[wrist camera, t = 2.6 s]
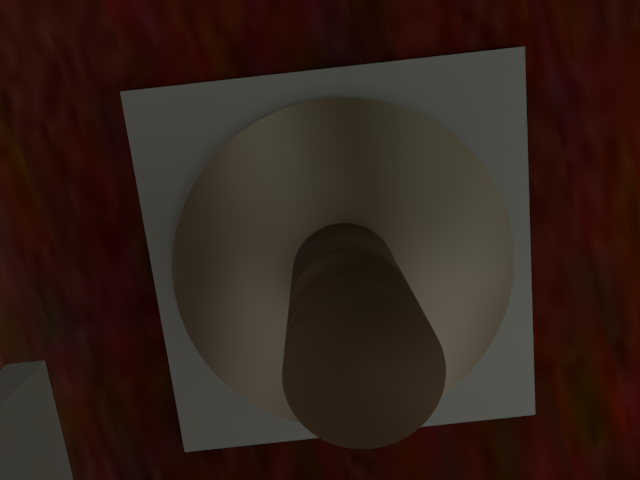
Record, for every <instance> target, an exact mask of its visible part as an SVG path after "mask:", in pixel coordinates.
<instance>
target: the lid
mask: <svg viewBox="0 0 640 480" xmlns="http://www.w3.org/2000/svg"><path fill="white" fill-rule="evenodd" d="M172 275H173V285H174V293H175V297H176V301H177V305H178V309H179V313H180V316H181V318H182V321H183V323H184V326H185V329H186V331H187V333H188V335H189V337H190V339H191V341H192V342H193V344H194V346H195V348H196V350H197V351H198V353H199V354H200V355H201V357H202V358H203V359H204V361H205V362H206V363H207V365H208V366H209V368H210V369H211V370H212V371H213V372H214V373H215V374H216V375H217V376H218V377H219V378H220V379H221V380H222V381H223V382H224V383H225V384H226V385H227V386H229V387H230V388H231V389H232V390H234V391H235V392H236V393H237V394H238V395H240V396H241V397H243V398H244V399H246V400H248V401H249V402H251V403H252V404H254V405H256V406H257V407H259V408H261V409H263V410H266V411H268V412H270V413H272V414H274V415H276V416H279V417H282V418H285V419H288V420H292V421H295V422H298V423H301V424H302V425H303V426H304V427H305V428H306V429H308V430H309V431H310V432H311V433H312V434H314V435H316V436H317V437H319V438H320V439H322V440H324V441H327V442H329V443H331V444H334V445H337V446H340V447H346V448H351V449H373V448H379V447H383V446H387V445H390V444H393V443H396V442H398V441H400V440H402V439H404V438H406V437H408V436H409V435H411V434H412V433H414V432H415V431H416V430H418V429H419V428H420V427H421V426H422V425H423V424H424V423H425V422H426V421H427V420H428V419H429V417H430V416H431V415H432V414H433V412H434V410H435V409H436V407H437V406H438V403H439V401H440V399H441V397H442V396H443V395H444V394H445V393H447V392H448V391H449V390H451V389H452V388H453V387H455V386H456V385H457V384H458V383H459V382H460V381H461V380H462V379H463V378H464V377H465V376H466V375H467V374H468V373H469V372H470V371H471V370H472V369H473V368H474V367H475V365H476V364H477V363H478V362H479V360H480V359H481V358H482V357H483V355H484V354H485V352H486V351H487V349H488V348H489V346H490V344H491V343H492V341H493V340H494V338H495V336H496V334H497V332H498V329H499V327H500V325H501V323H502V321H503V319H504V316H505V312H506V309H507V306H508V303H509V299H510V295H511V289H512V283H513V277H514V246H513V237H512V231H511V227H510V222H509V218H508V214H507V211H506V208H505V206H504V203H503V201H502V198H501V196H500V193H499V191H498V189H497V188H496V186H495V184H494V182H493V180H492V179H491V177H490V175H489V173H488V172H487V171H486V169H485V168H484V167H483V165H482V164H481V163H480V161H479V160H478V159H477V158H476V156H475V155H474V154H473V153H472V152H471V151H470V150H469V149H468V148H467V147H466V146H465V145H464V144H463V143H462V142H461V141H460V140H459V139H458V138H457V137H455V136H454V135H453V134H451V133H450V132H449V131H447V130H446V129H444V128H443V127H442V126H440V125H439V124H437V123H435V122H434V121H432V120H430V119H428V118H426V117H424V116H423V115H421V114H419V113H416V112H414V111H411V110H408V109H406V108H403V107H401V106H398V105H394V104H390V103H386V102H381V101H377V100H372V99H361V98H326V99H320V100H315V101H309V102H304V103H300V104H297V105H294V106H291V107H288V108H285V109H281V110H279V111H277V112H275V113H272V114H270V115H268V116H266V117H264V118H262V119H260V120H258V121H256V122H255V123H253V124H252V125H250V126H249V127H247V128H246V129H244V130H243V131H241V132H240V133H238V134H237V135H236V136H235V137H234V138H233V139H231V140H230V141H229V142H228V143H227V144H226V145H224V146H223V147H222V148H221V149H220V150H219V151H218V152H217V154H216V155H215V156H214V157H213V158H212V159H211V160H210V162H209V163H208V164H207V165H206V166H205V168H204V169H203V171H202V172H201V174H200V175H199V177H198V178H197V180H196V181H195V183H194V184H193V186H192V188H191V190H190V193H189V195H188V197H187V199H186V201H185V203H184V205H183V208H182V211H181V214H180V217H179V221H178V224H177V227H176V233H175V239H174V244H173V257H172Z"/></svg>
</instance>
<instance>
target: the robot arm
mask: <svg viewBox="0 0 640 480" xmlns="http://www.w3.org/2000/svg"><path fill="white" fill-rule="evenodd" d="M0 480H73V477H72V472H71V468H70V464H69V460H68V456H67V451H66V447H65V443H64V439H63V435H62V430H61V426H60V422H59V418H58V414H57V409H56V405H55V401H54V397H53V393H52V388H51V384H50V380H49V376H48V372H47V367H46V363H45V360H44V361H34V362H24V363H15V364H7V365H5V366H4V367H3V368H2V369H1V370H0Z"/></svg>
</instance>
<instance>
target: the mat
mask: <svg viewBox="0 0 640 480" xmlns="http://www.w3.org/2000/svg"><path fill="white" fill-rule="evenodd" d="M120 95H121V100H122V106H123V111H124V117H125V122H126V128H127V134H128V139H129V145H130V150H131V156H132V161H133V167H134V173H135V178H136V184H137V189H138V195H139V200H140V206H141V212H142V217H143V223H144V228H145V234H146V239H147V245H148V251H149V256H150V262H151V267H152V273H153V278H154V284H155V290H156V295H157V301H158V306H159V312H160V317H161V323H162V328H163V334H164V340H165V345H166V351H167V356H168V362H169V367H170V373H171V379H172V384H173V390H174V395H175V401H176V406H177V412H178V418H179V423H180V429H181V434H182V440H183V445H184V451H185V452H191V451H200V450H209V449H219V448H228V447H237V446H247V445H256V444H265V443H275V442H284V441H293V440H303V439H312V438H319V437H317V436H316V435H314V434H312V433H311V432H310V431H309V430H308V429H306V428H305V427H304V426H303V425H302V424H301V423H298V422H295V421H292V420H288V419H285V418H282V417H279V416H276V415H274V414H272V413H270V412H268V411H266V410H263V409H261V408H259V407H257V406H256V405H254V404H252V403H251V402H249V401H248V400H246V399H244V398H243V397H241V396H240V395H238V394H237V393H236V392H235V391H234V390H232V389H231V388H230V387H229V386H227V385H226V384H225V383H224V382H223V381H222V380H221V379H220V378H219V377H218V376H217V375H216V374H215V373H214V372H213V371H212V370H211V369H210V368H209V366H208V365H207V363H206V362H205V361H204V359H203V358H202V357H201V355H200V354H199V353H198V351H197V350H196V348H195V346H194V344H193V342H192V341H191V339H190V337H189V335H188V333H187V331H186V329H185V326H184V323H183V321H182V318H181V316H180V313H179V309H178V305H177V301H176V297H175V293H174V285H173V275H172V257H173V244H174V239H175V233H176V227H177V224H178V221H179V217H180V214H181V211H182V208H183V205H184V203H185V201H186V199H187V197H188V195H189V193H190V190H191V188H192V186H193V184H194V183H195V181H196V180H197V178H198V177H199V175H200V174H201V172H202V171H203V169H204V168H205V166H206V165H207V164H208V163H209V162H210V160H211V159H212V158H213V157H214V156H215V155H216V154H217V152H218V151H219V150H220V149H221V148H222V147H223V146H224V145H226V144H227V143H228V142H229V141H230V140H231V139H233V138H234V137H235V136H236V135H237V134H238V133H240V132H241V131H243V130H244V129H246V128H247V127H249V126H250V125H252V124H253V123H255V122H256V121H258V120H260V119H262V118H264V117H266V116H268V115H270V114H272V113H275V112H277V111H279V110H281V109H285V108H288V107H291V106H294V105H297V104H300V103H304V102H309V101H315V100H320V99H326V98H361V99H372V100H377V101H381V102H386V103H390V104H394V105H398V106H401V107H403V108H406V109H408V110H411V111H414V112H416V113H419V114H421V115H423V116H424V117H426V118H428V119H430V120H432V121H434V122H435V123H437V124H439V125H440V126H442V127H443V128H444V129H446V130H447V131H449V132H450V133H451V134H453V135H454V136H455V137H457V138H458V139H459V140H460V141H461V142H462V143H463V144H464V145H465V146H466V147H467V148H468V149H469V150H470V151H471V152H472V153H473V154H474V155H475V156H476V158H477V159H478V160H479V161H480V163H481V164H482V165H483V167H484V168H485V169H486V171H487V172H488V173H489V175H490V177H491V179H492V180H493V182H494V184H495V186H496V188H497V189H498V191H499V193H500V196H501V198H502V201H503V203H504V206H505V208H506V211H507V214H508V218H509V222H510V227H511V231H512V237H513V246H514V277H513V283H512V289H511V295H510V299H509V303H508V306H507V309H506V312H505V316H504V319H503V321H502V323H501V325H500V327H499V329H498V332H497V334H496V336H495V338H494V340H493V341H492V343H491V344H490V346H489V348H488V349H487V351H486V352H485V354H484V355H483V357H482V358H481V359H480V360H479V362H478V363H477V364H476V365H475V367H474V368H473V369H472V370H471V371H470V372H469V373H468V374H467V375H466V376H465V377H464V378H463V379H462V380H461V381H460V382H459V383H458V384H457V385H456V386H455V387H453V388H452V389H451V390H449V391H448V392H447V393H445V394H444V395H443V396H442V397H441V399H440V401H439V403H438V406H437V407H436V409H435V410H434V412H433V414H432V415H431V416H430V417H429V419H428V420H427V421H426V422H425V423H424V424H423V425H422V426H421V427H424V426H434V425H443V424H452V423H462V422H471V421H480V420H490V419H499V418H509V417H518V416H527V415H535V386H534V351H533V316H532V281H531V246H530V210H529V175H528V140H527V105H526V70H525V46H524V47H515V48H506V49H497V50H488V51H479V52H470V53H461V54H452V55H444V56H435V57H426V58H417V59H408V60H399V61H390V62H381V63H372V64H363V65H354V66H345V67H336V68H327V69H318V70H309V71H300V72H291V73H282V74H273V75H264V76H256V77H247V78H238V79H229V80H220V81H211V82H202V83H193V84H184V85H175V86H166V87H157V88H148V89H139V90H130V91H121V92H120Z"/></svg>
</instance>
